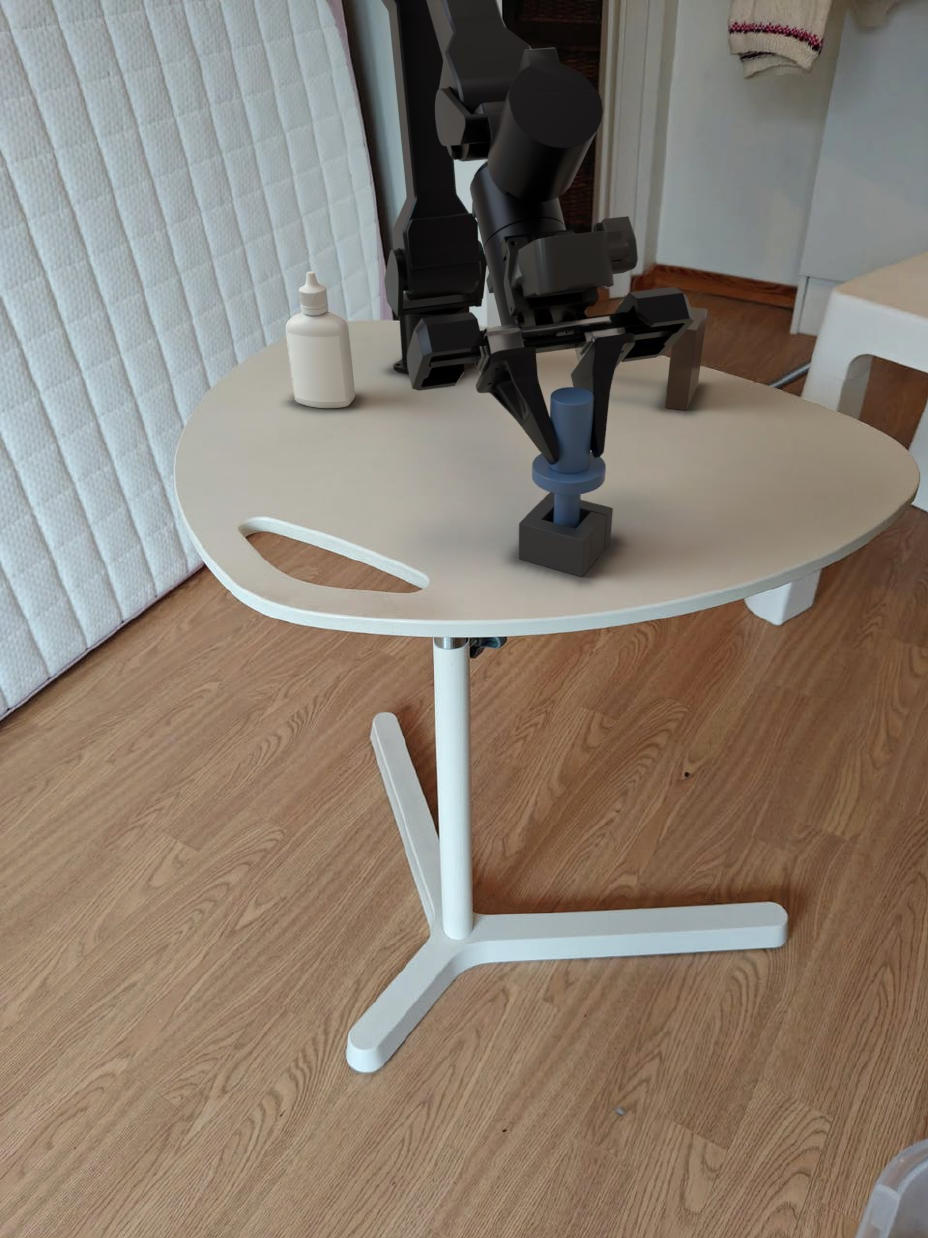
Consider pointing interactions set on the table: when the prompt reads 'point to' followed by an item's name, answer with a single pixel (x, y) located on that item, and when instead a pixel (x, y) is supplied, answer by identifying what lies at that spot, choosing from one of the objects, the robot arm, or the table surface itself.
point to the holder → (565, 537)
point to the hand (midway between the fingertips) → (576, 459)
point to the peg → (570, 455)
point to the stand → (686, 363)
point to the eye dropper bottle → (319, 351)
